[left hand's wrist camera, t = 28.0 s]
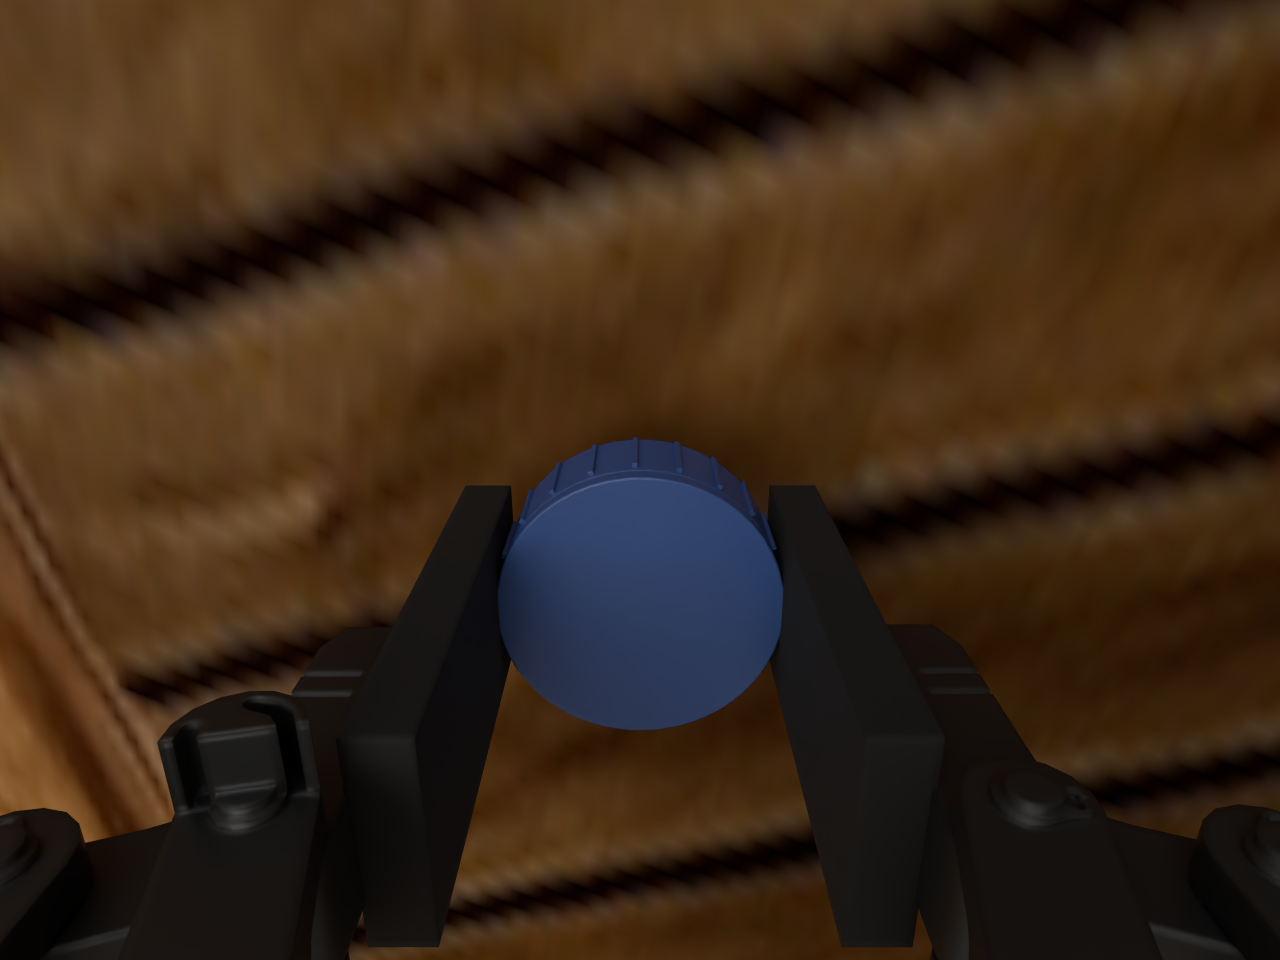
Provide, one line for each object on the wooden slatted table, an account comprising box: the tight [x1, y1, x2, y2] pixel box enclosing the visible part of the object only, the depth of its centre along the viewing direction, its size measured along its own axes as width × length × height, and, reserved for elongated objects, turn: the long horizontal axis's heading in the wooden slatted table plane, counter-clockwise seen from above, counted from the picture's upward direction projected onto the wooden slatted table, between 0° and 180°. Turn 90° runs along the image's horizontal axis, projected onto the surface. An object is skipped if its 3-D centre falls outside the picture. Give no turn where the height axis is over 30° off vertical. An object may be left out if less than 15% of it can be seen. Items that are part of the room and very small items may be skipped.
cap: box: [497, 437, 783, 730], centre depth 14 cm, size 4×4×2 cm
